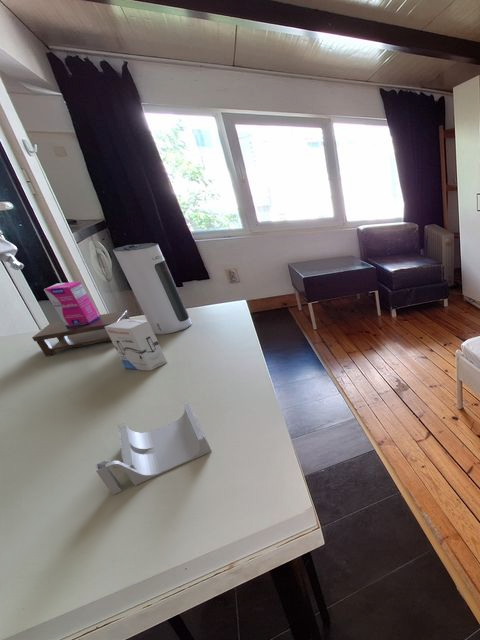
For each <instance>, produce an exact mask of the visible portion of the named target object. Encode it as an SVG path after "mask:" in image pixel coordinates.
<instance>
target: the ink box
mask: <svg viewBox="0 0 480 640" xmlns="http://www.w3.org/2000/svg"><path fill="white" fill-rule="evenodd" d="M105 329H106V331H107V333H108V335H109V337H110V339H111V340H110V341H111V342H112V344H113V346H114V348H115V350H116V352H117V354H118V356H119V358H120V361H121V362H122V365H123V366H124V368H125V369H130V370H140V371H149V372H151V371H153V370H155V369H157V368H158V367H160V366H162V365H164V364H167V363H168V360H167V358H166V356H165V354H164V352H163V350H162V348H161V345H160V344H159V341H158V339H157V336H156V334H155V333H154V332H153V330H152V328H151V326H150V324H149V322H148V321H147V320H142V319H141V320H140V319H131V318H130V319H123V320H120V321H118V322H115V323H113V324H110V325H108V326H105Z"/></svg>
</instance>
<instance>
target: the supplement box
mask: <svg viewBox="0 0 480 640" xmlns="http://www.w3.org/2000/svg"><path fill="white" fill-rule="evenodd" d="M43 291H44V292H45V295H46V296H47V298H48V299H49V301H50V303H51V304H52V306H53V308H54V310H55V311H56V313H57V314H58V316H59V318H60V319H61V321H63V323H64V324H65V326H66V327H70V326H77V325H88V324H91V323H92V322H94V321H95V320H97V319H99V318H100V316H99V315H100V314H99V313H98V311H97V309H96V307H95V306H94V304H93V301H92V300H91V298H90V296H89V294H88V293H87V291H86V289H85V287H84V285H83V284H82V282H81V281H71V282H59V283H55V284H53V285H50V286H48V287H46V288H44V289H43Z"/></svg>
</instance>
